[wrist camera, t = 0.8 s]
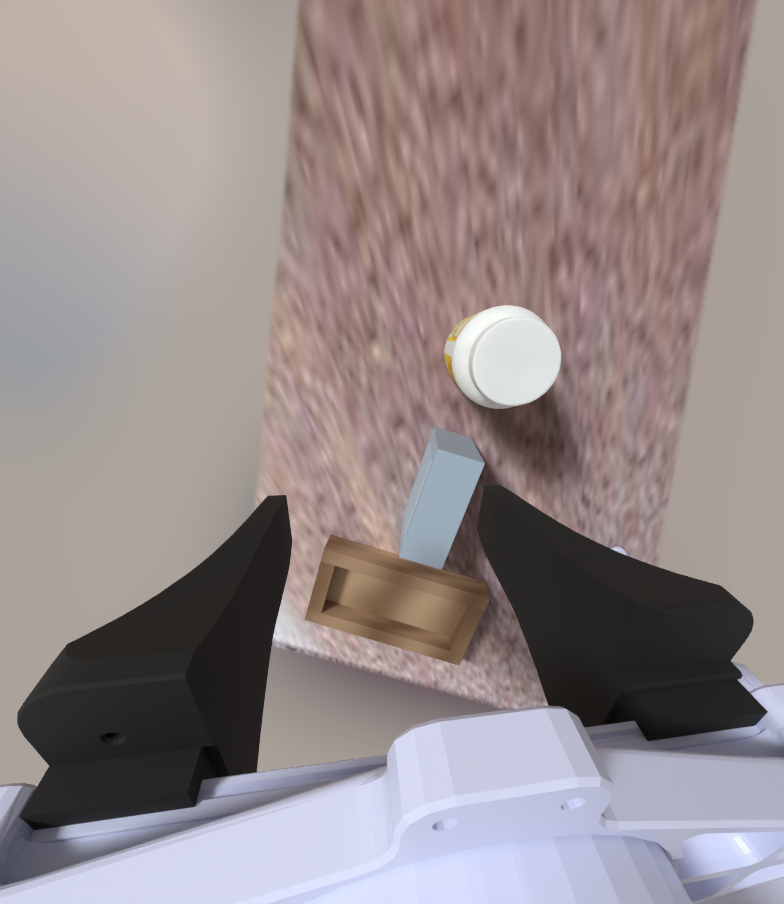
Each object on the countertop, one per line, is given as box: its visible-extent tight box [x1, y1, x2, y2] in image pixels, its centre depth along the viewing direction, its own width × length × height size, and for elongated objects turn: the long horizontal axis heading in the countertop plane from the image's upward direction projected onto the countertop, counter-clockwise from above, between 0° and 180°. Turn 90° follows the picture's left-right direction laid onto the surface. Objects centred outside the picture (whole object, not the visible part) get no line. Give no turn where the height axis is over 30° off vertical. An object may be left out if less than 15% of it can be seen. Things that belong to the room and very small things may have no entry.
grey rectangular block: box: [399, 427, 485, 570], centre depth 26 cm, size 8×3×6 cm, turn 163°
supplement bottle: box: [444, 305, 561, 409], centre depth 21 cm, size 5×5×10 cm
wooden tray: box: [305, 535, 490, 665], centre depth 31 cm, size 14×7×2 cm, turn 73°
